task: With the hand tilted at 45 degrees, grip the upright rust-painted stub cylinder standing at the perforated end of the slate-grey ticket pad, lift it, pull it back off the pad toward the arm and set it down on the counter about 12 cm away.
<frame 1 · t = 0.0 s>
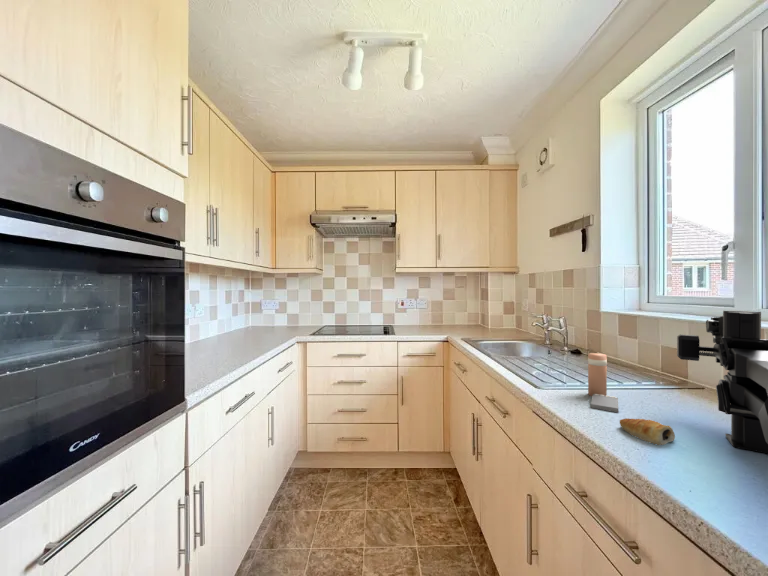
hand: (719, 345, 89), 17 cm above the worktop, tool horizontal, fingers open, 9 cm apart
pastry: (647, 438, 73), on the worktop
ticket pad: (604, 404, 92), on the worktop
stub: (597, 395, 100), on the worktop
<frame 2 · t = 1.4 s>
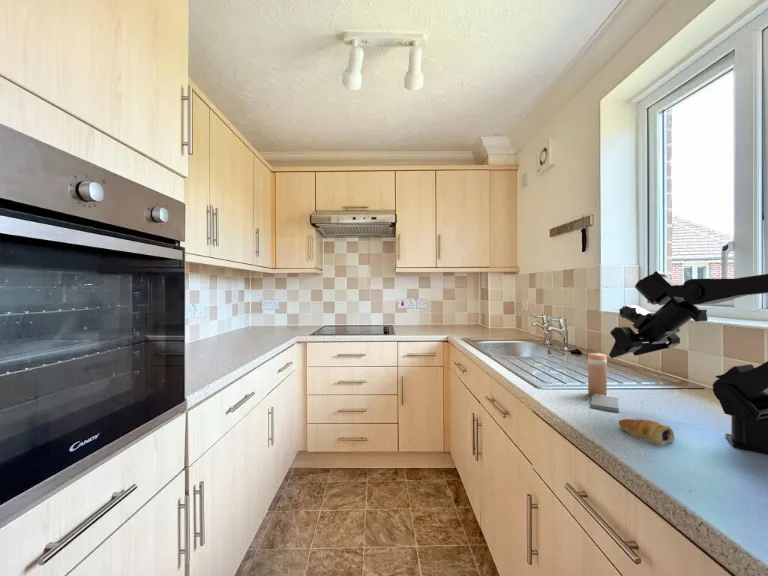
hand: (622, 355, 93), 13 cm above the worktop, tool tilted 45°, fingers open, 9 cm apart
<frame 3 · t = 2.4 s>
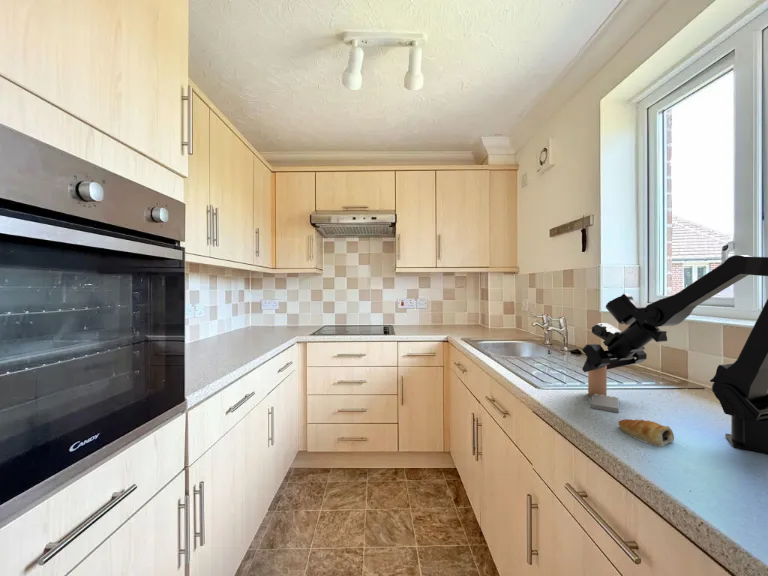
hand: (595, 369, 101), 7 cm above the worktop, tool tilted 45°, fingers open, 9 cm apart
nothing on the worktop moved.
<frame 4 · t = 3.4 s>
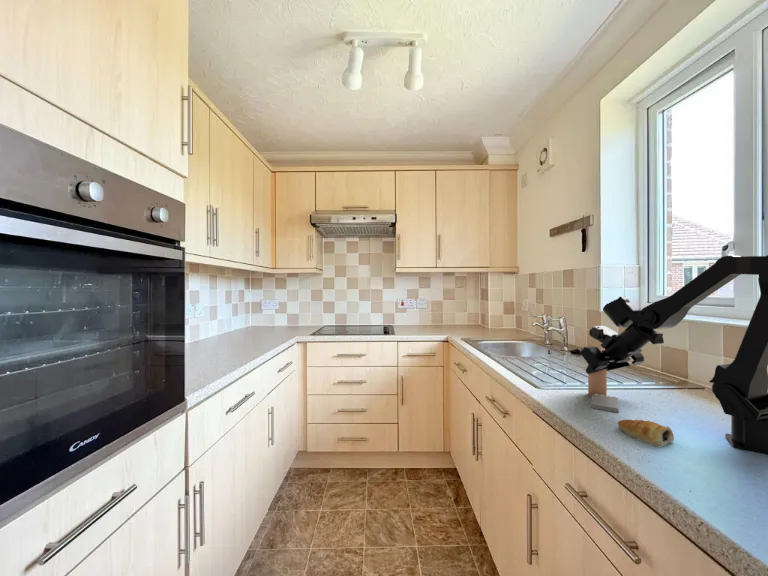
hand: (593, 371, 101), 7 cm above the worktop, tool tilted 45°, fingers closed on stub, 5 cm apart
stub: (597, 395, 100), on the worktop, touching gripper
everything else where it was.
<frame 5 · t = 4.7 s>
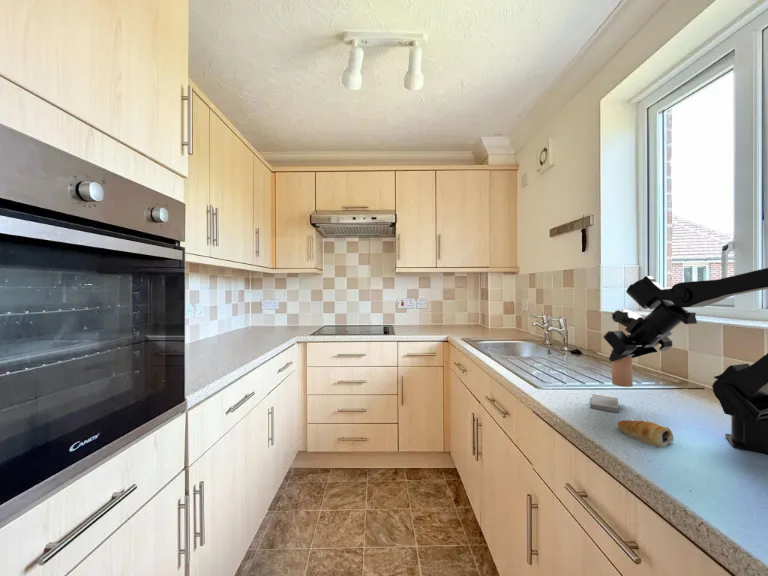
hand: (616, 359, 94), 12 cm above the worktop, tool tilted 45°, fingers closed on stub, 5 cm apart
stub: (622, 384, 93), point 5 cm above the worktop, touching gripper
when the fingers open (8 cm above the worktop, at t = 6.2 s): stub drops 1 cm, on the worktop.
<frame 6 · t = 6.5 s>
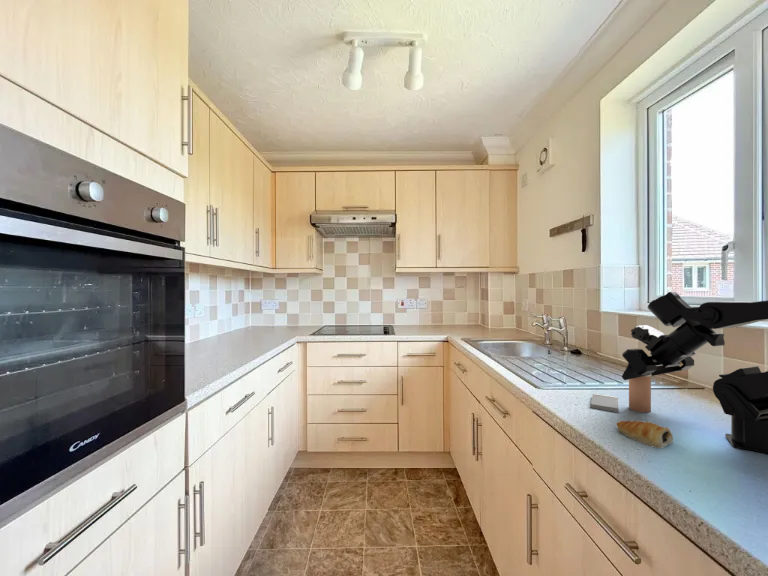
hand: (634, 377, 90), 8 cm above the worktop, tool tilted 45°, fingers open, 8 cm apart
stub: (639, 409, 89), on the worktop
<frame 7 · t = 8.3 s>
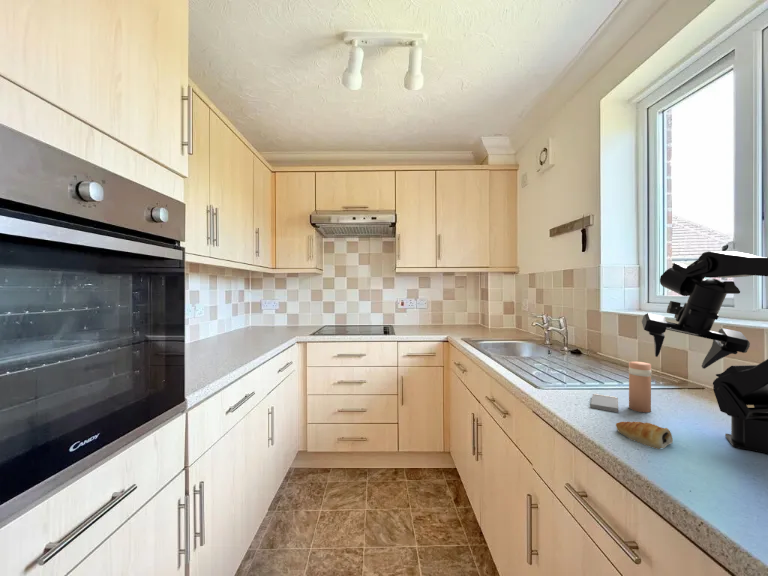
hand: (678, 361, 84), 13 cm above the worktop, tool tilted 20°, fingers open, 9 cm apart
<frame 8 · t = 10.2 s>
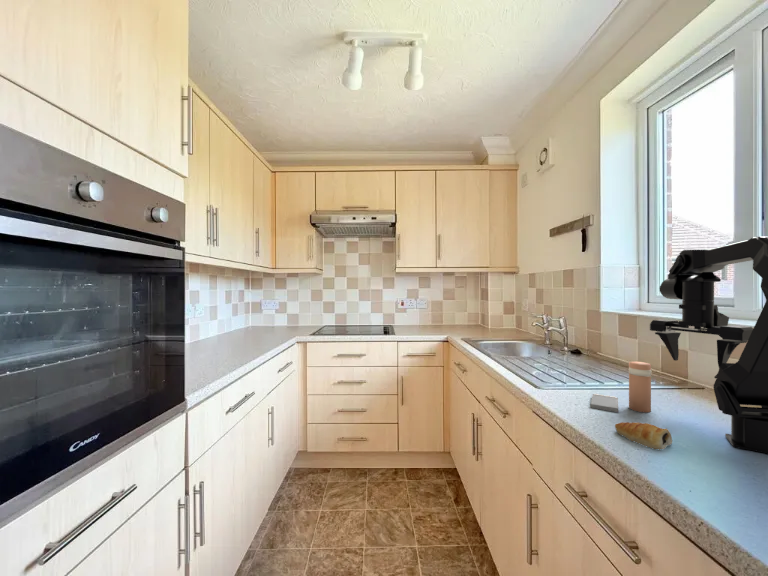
hand: (697, 364, 83), 13 cm above the worktop, tool pointing down, fingers open, 9 cm apart
at the end: stub moved 12.0 cm from its start; stub touching worktop; stub inside the target area (0.4 cm from its centre), on the worktop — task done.
